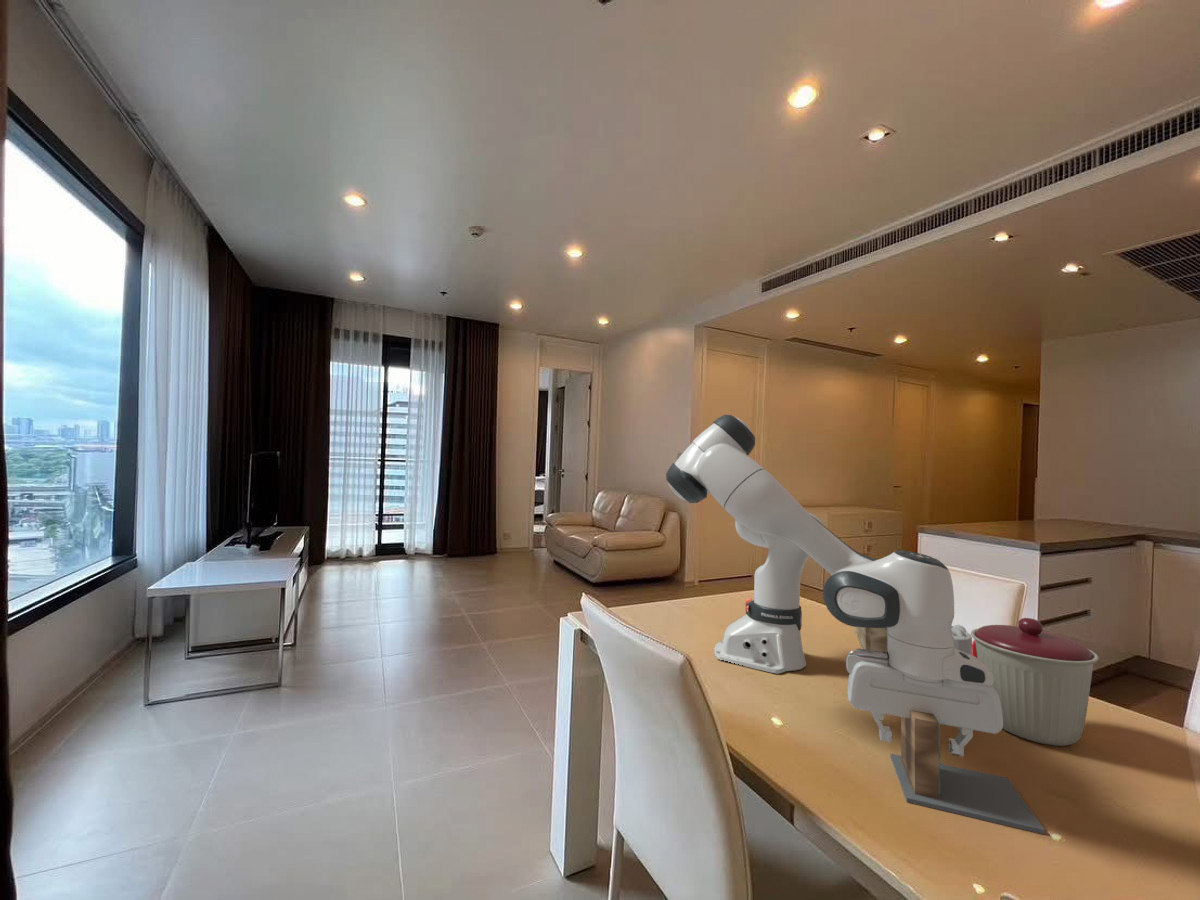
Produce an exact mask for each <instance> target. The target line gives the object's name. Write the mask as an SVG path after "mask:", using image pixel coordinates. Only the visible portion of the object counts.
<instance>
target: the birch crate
mask: <svg viewBox="0 0 1200 900" xmlns="http://www.w3.org/2000/svg"><path fill="white" fill-rule="evenodd" d="M855 631H856V633H857V636H858V638H859V640H858V642H859V641H860V642H859V644H860V643H861V645H860V647H861V646H862V647H861V649H862V648H863V649H865V650H868V651H869V650H870V651H882V652H887V628H864V627H854V632H855ZM856 633H855V634H856ZM857 636H856V637H857ZM858 638H857V639H858Z"/></svg>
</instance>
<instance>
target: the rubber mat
mask: <svg viewBox="0 0 1200 900" xmlns="http://www.w3.org/2000/svg"><path fill="white" fill-rule="evenodd" d="M889 754H890V759H891V762H892V765H893V768H894V771H895V774H896V776H897V779H898V780H899V784H900V786H901V790H902V792H903V795H904V798H905V801H906V803H908V804H909V803H910V804H914V805H918V806H922V807H927V808H931V809H935V810H938V811H943V812H948V813H953V814H956V815H960V816H964V817H969V818H974V819H977V820H981V821H986V822H990V823H992V824H993V823H994V824H998V825H1003V826H1007V827H1011V828H1015V829H1020V830H1024V831H1028V832H1033V833H1037V834H1041V835H1046V829H1045V827H1043V825H1042V823H1041V822H1040V821H1039V820H1038V818H1037V817H1036V815H1035V814H1034V812H1033V811H1032V809H1031V808H1030V807H1029V805H1028V804H1027V802H1026V801H1025V800H1024V798H1022V796H1021V795H1020V793H1019V791H1018V790H1017V789H1016V788H1015V786H1014V785H1013V784H1012V782H1011V781H1010V779H1009V778H1008V777H1005V776H1001V775H996V774H992V773H986V772H982V771H976V770H972V769H967V768H961V767H958V766H952V765H947V764H944V763H940V796H939V799H935V798H930V797H926V796H922V795H917V794H915V793H914V791H913V788H912V786H911V783H910V781H909V778H908V776H907V773H906V771H905V768H904V766H903V763H902V761H901V754H900V755H899V754H896V753H889Z"/></svg>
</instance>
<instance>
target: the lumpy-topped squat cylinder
mask: <svg viewBox="0 0 1200 900" xmlns="http://www.w3.org/2000/svg"><path fill="white" fill-rule="evenodd" d="M951 632H952V636H953V639H954V649H957V650H959V651H962V652H965V653H967V654H970V655H971V647H972V642H973V637H972V636H971V633H969V632H967V630H966V628H965V626H963V625H960V624H956V625H954V626H953V625H951Z"/></svg>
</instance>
